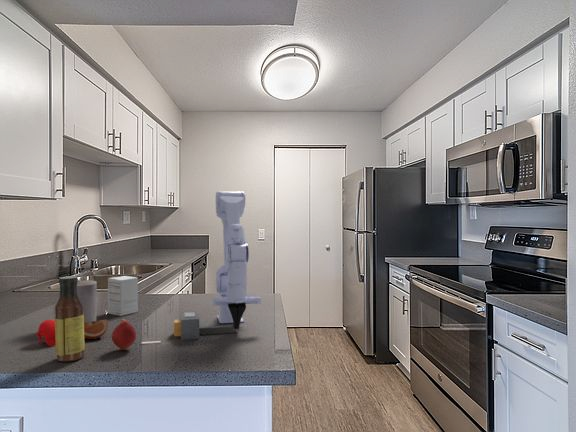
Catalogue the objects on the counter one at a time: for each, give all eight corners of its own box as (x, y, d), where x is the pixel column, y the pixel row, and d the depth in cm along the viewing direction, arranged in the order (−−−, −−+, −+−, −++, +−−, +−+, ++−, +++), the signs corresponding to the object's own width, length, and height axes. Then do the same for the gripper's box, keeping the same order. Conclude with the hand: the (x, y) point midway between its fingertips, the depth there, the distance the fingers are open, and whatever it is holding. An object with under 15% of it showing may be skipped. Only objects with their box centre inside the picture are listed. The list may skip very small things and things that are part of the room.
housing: (180, 330, 129) (180, 310, 129) (197, 329, 131) (197, 310, 131) (181, 340, 119) (181, 319, 119) (199, 338, 120) (199, 318, 120)
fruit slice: (77, 343, 115) (77, 325, 115) (73, 337, 120) (73, 320, 120) (109, 339, 119) (110, 321, 119) (104, 333, 125) (104, 316, 125)
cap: (31, 329, 116) (32, 322, 112) (54, 319, 120) (55, 312, 116) (44, 354, 115) (45, 348, 110) (67, 343, 118) (69, 336, 114)
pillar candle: (64, 323, 136) (64, 276, 135) (97, 320, 139) (98, 275, 139) (59, 331, 126) (60, 281, 126) (95, 328, 130) (95, 280, 130)
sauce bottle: (88, 354, 106) (89, 275, 106) (77, 363, 100) (78, 279, 100) (62, 354, 106) (63, 275, 106) (49, 363, 100) (50, 278, 100)
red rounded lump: (128, 345, 114) (128, 315, 114) (140, 349, 110) (140, 319, 110) (107, 350, 109) (108, 319, 109) (119, 355, 106) (119, 323, 106)
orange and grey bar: (233, 330, 130) (233, 317, 130) (234, 333, 127) (234, 320, 127) (174, 333, 126) (174, 319, 126) (174, 336, 122) (174, 322, 122)
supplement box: (124, 309, 156) (125, 275, 156) (138, 312, 152) (138, 277, 152) (107, 313, 150) (107, 277, 150) (120, 316, 146) (121, 279, 146)
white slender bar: (141, 343, 116) (141, 342, 116) (160, 342, 117) (160, 340, 117) (141, 344, 115) (141, 343, 115) (160, 343, 116) (160, 341, 116)
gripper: (214, 286, 123) (213, 333, 123) (263, 284, 127) (262, 330, 127) (211, 282, 130) (211, 326, 130) (258, 281, 133) (257, 324, 133)
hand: (236, 328), depth 129 cm, fingers closed
